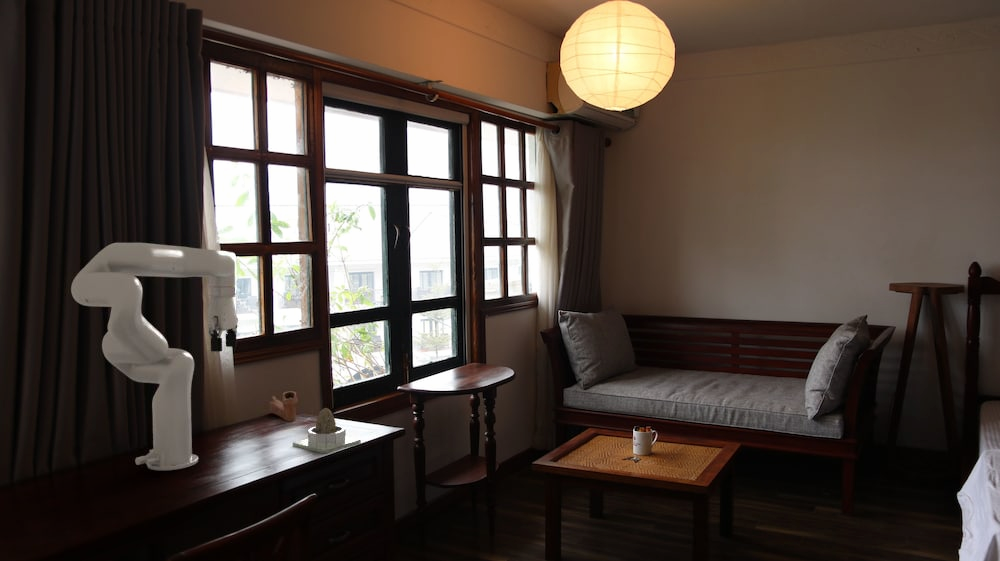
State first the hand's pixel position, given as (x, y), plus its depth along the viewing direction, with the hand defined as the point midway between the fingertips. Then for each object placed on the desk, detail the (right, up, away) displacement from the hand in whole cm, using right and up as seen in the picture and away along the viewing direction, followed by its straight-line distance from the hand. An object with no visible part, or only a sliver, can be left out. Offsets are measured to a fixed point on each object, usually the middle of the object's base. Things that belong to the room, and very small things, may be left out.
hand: (224, 348), depth 216 cm
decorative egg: (+31, -28, -2) cm, 42 cm away
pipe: (+8, -27, +32) cm, 43 cm away
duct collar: (+32, -29, -2) cm, 43 cm away
